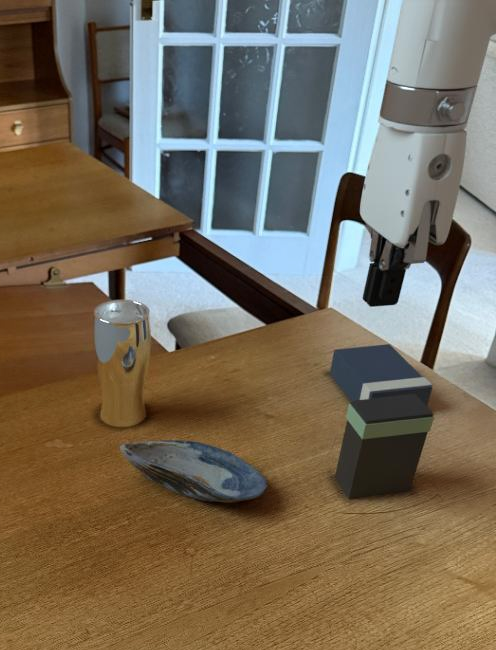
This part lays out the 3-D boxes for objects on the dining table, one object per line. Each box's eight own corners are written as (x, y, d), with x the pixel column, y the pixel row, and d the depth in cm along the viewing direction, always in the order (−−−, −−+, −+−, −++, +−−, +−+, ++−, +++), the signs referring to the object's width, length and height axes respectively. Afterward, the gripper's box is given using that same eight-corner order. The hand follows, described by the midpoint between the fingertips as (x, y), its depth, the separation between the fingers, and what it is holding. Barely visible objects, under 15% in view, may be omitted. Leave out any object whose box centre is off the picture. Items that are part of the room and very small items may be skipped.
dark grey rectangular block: (393, 475, 86) (415, 393, 79) (410, 497, 83) (435, 413, 76) (331, 482, 85) (349, 400, 78) (346, 505, 82) (366, 421, 75)
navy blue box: (390, 343, 101) (434, 386, 92) (383, 373, 104) (424, 418, 95) (333, 348, 101) (371, 392, 91) (327, 379, 104) (363, 425, 94)
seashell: (135, 538, 79) (135, 502, 75) (117, 469, 88) (116, 434, 85) (274, 522, 80) (280, 485, 77) (242, 455, 90) (246, 421, 87)
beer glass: (156, 409, 98) (158, 302, 89) (140, 438, 93) (141, 327, 84) (106, 401, 100) (103, 295, 90) (88, 429, 95) (83, 319, 85)
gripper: (513, 123, 60) (449, 331, 72) (424, 87, 72) (382, 272, 83) (426, 127, 59) (376, 337, 71) (351, 90, 71) (318, 277, 82)
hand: (379, 302), depth 77 cm, fingers closed
